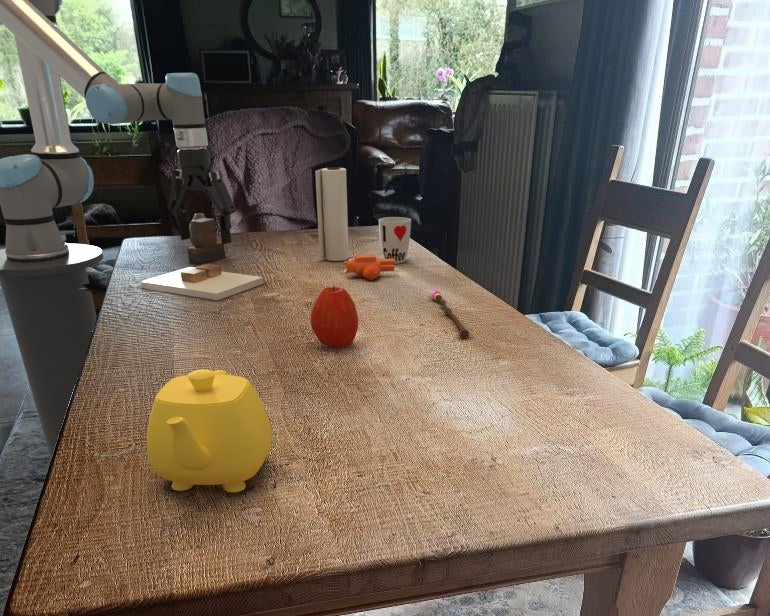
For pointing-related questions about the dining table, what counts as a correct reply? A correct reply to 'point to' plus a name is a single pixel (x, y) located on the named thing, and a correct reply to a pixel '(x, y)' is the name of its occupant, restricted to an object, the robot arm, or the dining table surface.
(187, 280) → the brown wooden block
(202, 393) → the teapot
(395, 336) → the dining table surface
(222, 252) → the wooden toy block
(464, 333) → the magic wand
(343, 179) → the paper towel roll
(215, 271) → the tan wooden block
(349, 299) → the apple
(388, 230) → the cup
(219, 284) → the board
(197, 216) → the vase
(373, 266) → the orange toy bird
